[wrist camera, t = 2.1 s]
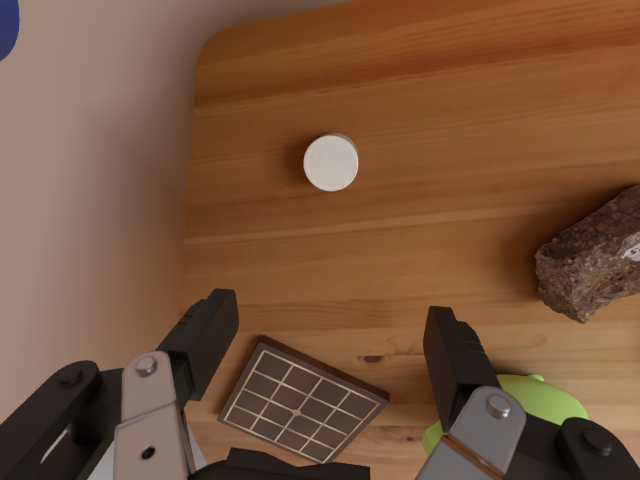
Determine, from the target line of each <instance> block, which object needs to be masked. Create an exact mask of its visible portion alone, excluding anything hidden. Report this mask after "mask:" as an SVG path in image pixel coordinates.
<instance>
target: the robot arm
mask: <svg viewBox="0 0 640 480" xmlns="http://www.w3.org/2000/svg"><path fill="white" fill-rule="evenodd" d="M238 326H239V316H238V309H237V302H236V295H235V291H234V290H231V289H218V288H216V289H214V290H213V291H212V293H211V294H210V295H209V297H208V298H207V299H206V300H205V299H201V300H200V301H198V302H197V303H195V304H194V305H192V306H191V307H190V308H189V309H188V311H187V312H186V313H185V314H184V317H182V318H181V319H180V320H179V322H178V324H176V325H175V327H174V328H173V329H172V330H171V331H170V333H169V334H168V335H167V336H166V337H165V339H164V340H163V341H162V342H161V344H160V345H159V346H158V348H157V349H156V350H155V351H149V352H146V353H143V354H141V355H139V356H137V357H135V358H134V359H133V360H131V361H130V362H129V363H128V364H127V365H126V367H125V368H119V369H112V370H106V371H99V368H98V366H97V364H96V363H95V362H93V361H87V360H86V361H79V362H75V363H72V364H69V365H67V366H65V367H63V368H61V369H60V370H58V371H57V372H55V373H54V374H53V375H52V376H51V377H50V378H48V379H47V380H46V381H45V383H43V384H42V385H41V386H40V387H39V388H38V389H37V390H36V391H35V392H34V393H33V394H32V395H31V396H30V397H29V398H28V399H27V400H26V401H25V402H24V403H23V404H21V405H20V407H18V408H17V409H16V410H15V411H14V412H13V413H12V414H11V415H10V416H9V417H8V418H7V419H6V420H5V421H4V422H3V423H2V424H1V425H0V480H87V479H88V477H89V476H90V475H91V473H92V472H93V470H94V469H95V467H96V466H97V464H98V463H99V461H100V460H101V458H102V457H103V455H104V454H105V452H106V451H107V449H108V448H109V446H110V444H111V443H112V441H113V440H114V465H113V480H370V467H367V466H360V465H353V464H345V463H338V462H331V463H324V464H317V465H310V466H303V467H295V466H293V465H291V464H289V463H286V462H284V461H282V460H280V459H278V458H276V457H274V456H271V455H269V454H267V453H265V452H260V451H253V450H246V449H239V448H232V447H231V449H230V452H229V455H228V457H227V460H221V461H218V462H214V463H212V464H209V465H207V466H205V467H203V468H201V469H199V470H197V471H196V467H195V464H194V459H193V454H192V448H191V443H190V437H189V432H188V427H187V421H186V416H185V411H184V407H185V405H186V403H187V402H188V400H193V401H200V400H201V398H202V397H203V395H204V393H205V391H206V389H207V387H208V385H209V383H210V382H211V380H212V378H213V376H214V374H215V372H216V370H217V369H218V367H219V365H220V363H221V361H222V359H223V357H224V355H225V354H226V352H227V350H228V348H229V346H230V344H231V342H232V340H233V339H234V337H235V335H236V333H237V330H238ZM423 348H424V354H425V359H426V363H427V367H428V371H429V376H430V380H431V384H432V388H433V393H434V397H435V401H436V405H437V410H438V414H439V418H440V422H441V427H442V431H443V433H448V434H447V435H445V434H444V435H443V436H442V437H441V438H440V440H439V441H438V443H437V444H436V446H435V447H434V449H433V451H432V452H431V454H430V456H429V457H428V459H427V460H426V462H425V464H424V465H423V467H422V468H421V470H420V472H419V473H418V475H417V476H416V478H415V480H640V468H639V467H638V465H637V464H636V462H635V461H634V459H633V458H632V457H631V455H630V454H629V452H628V451H627V449H626V448H625V446H624V445H623V444H622V443H621V442H620V440H619V439H618V438H617V437H615V436H614V435H613V434H612V433H611V432H609V431H608V430H607V429H605V428H604V427H602V426H600V425H599V424H597V423H595V422H593V421H590V420H587V419H584V418H580V417H570V418H567V419H565V420H564V421H563V423H562V425H558V424H555V423H552V422H550V421H547V420H544V419H542V418H539V417H536V416H534V415H532V414H529V413H528V412H526V411H524V408H523V407H522V405H521V404H520V403H519V402H518V400H517V399H516V398H514V397H513V396H512V395H511V394H509V393H508V392H506V391H504V390H503V389H502V387H501V385H500V383H499V381H498V378H497V376H496V374H495V372H494V370H493V368H492V366H491V364H490V362H489V359H488V357H487V355H486V354H485V351H484V349H483V347H482V345H481V343H480V340H479V338H478V336H477V334H476V332H475V331H474V330H473V329H472V328H471V327H470V326H469V325H468V324H467V323H466V322H460V321H457V320H456V318H455V315H454V313H453V311H452V309H451V308H450V307H439V306H430V308H429V311H428V316H427V321H426V326H425V332H424V337H423ZM65 429H66V431H67V433H66V434H65V435H64V437H63V438H62V439H61V440H60V441H59V443H58V444H57V445H56V446H55V447H54V449H53V450H52V451H51V452H50V453H49V455H48V456H47V457H46V458H45V460H44V461H43V462H42V463H41V460H42V458H43V456H44V455H45V453H46V452H47V450H48V449H49V448H50V447H51V446H52V444H53V443H54V442H55V441H56V440H57V438H58V437H59V436H60V435H61V434H62V432H63V431H64V430H65Z"/></svg>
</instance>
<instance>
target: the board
mask: <svg viewBox="0 0 640 480" xmlns="http://www.w3.org/2000/svg"><path fill="white" fill-rule="evenodd" d="M389 402H390V398H389V393H387V392H385V391H382V390H380V389H378V388H376V387H374V386H372V385H370V384H367V383H365V382H363V381H361V380H359V379H357V378H354V377H352V376H350V375H348V374H346V373H344V372H342V371H339V370H337V369H335V368H333V367H331V366H329V365H327V364H324V363H322V362H320V361H318V360H316V359H314V358H312V357H309V356H307V355H305V354H303V353H301V352H299V351H296V350H294V349H292V348H290V347H288V346H286V345H284V344H281V343H279V342H277V341H275V340H273V339H271V338H269V337H266V336H264V335H262V337H261V338H260V340H259V342H258V344H257V346H256V348H255V349H254V351H253V353H252V355H251V357H250V359H249V360H248V362H247V364H246V366H245V368H244V370H243V371H242V373H241V375H240V377H239V379H238V381H237V382H236V384H235V386H234V388H233V390H232V392H231V393H230V395H229V397H228V399H227V401H226V403H225V404H224V406H223V408H222V410H221V412H220V414H219V416H218V418H217V421H219V422H221V423H223V424H226V425H228V426H230V427H233V428H235V429H237V430H240V431H242V432H244V433H247V434H249V435H251V436H254V437H256V438H258V439H260V440H263V441H265V442H267V443H270V444H272V445H274V446H277V447H279V448H281V449H284V450H286V451H288V452H290V453H293V454H295V455H297V456H300V457H302V458H304V459H307V460H309V461H311V462H314V463H316V464H324V463H331V462H332V461H333V460H334V459H335V458H336V457H337V456H338V455H339V454H340V453H341V452H342V451H343V450H344V449H345V448H346V447H347V446H348V445H349V443H350V442H351V441H352V440H353V439H354V438H355V437H356V436H357V435H358V434H359V433H360V432H361V431H362V430H363V429H364V428H365V427H366V426H367V425H368V424H369V423H370V422H371V421H372V420H373V419H374V418H375V417H376V416H377V415H378V414H379V413H380V411H381V410H382V409H383V408H384V407H385V406H386V405H387V404H388V403H389Z"/></svg>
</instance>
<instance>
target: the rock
mask: <svg viewBox="0 0 640 480" xmlns="http://www.w3.org/2000/svg"><path fill="white" fill-rule="evenodd" d="M535 258H536V269H535V272H536V274H537V275H538V279H539V280H540V281H539V282H538V286H539V288H538V295H539V297H540V298H541V299H542V300H543V302H544V304H545V305H547V306H549V307H550V308H551V309H552V310H553V311H555V312H557V313H562V314H565V315H566V316H567V317H569V318H570V319H572V320H575V321H577V322H578V323H581V324H585V323H586V322H587V321H589V320H590V319H591V317H592V316H593V315H594V313H595V310H597V309H600V308H602V307H604V306H606V305H608V304H609V303H610V302H612V301H613V300H616V299H618V298H621V297H626V296H631V295H635V294H637V293H640V184H639V185H635V186H633V187H631V188H628V189H626V190H624V191H622V192H621V193H620V194H619V195H618V196H617V197H616V198H615V199H613V200H611V201H610V202H608V203H606V204H605V205H604V206H603V207H601V208H600V209H599V210H598V211H597V212H594V213H592V214H590V215H588V216H587V217H585V218H584V219H583V220H582V221H580V222H577V223H575V224H574V225H573V226H571V227H569V228H567V229H566V230H562V231H561V233H560V235H559V237H556V238H553V239H552V242H551V243H549V244H544V245H543V246H542V247H541V248H539V249H538V250H537V253H536V255H535Z"/></svg>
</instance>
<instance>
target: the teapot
mask: <svg viewBox="0 0 640 480" xmlns="http://www.w3.org/2000/svg"><path fill="white" fill-rule="evenodd" d="M496 376H497V378H498V381H499V383H500V385H501V387H502V389H503V390H504V391H506V392H508V393H509V394H511V395H512V396H513V397H514V398H516V399H517V400H518V402H519V403H520V404H521V405H522V407H523V408H524V411H526V412H528V413H529V414H532V415H534V416H536V417H539V418H542V419H544V420H547V421H550V422H552V423H555V424H558V425H562V423H563V421H564V420H565V419H567V418H570V417H580V418H584V419H587V420H590V419H589V417H588V415H587V413H586V411H585V410H584V408H583V407H582V405H581V404H580V403H579V401H578V400H577V399H576V398H574V397H573V396H572V395H570V394H569V393H567V392H566V391H564V390H562V389H560V388H558V387H556V386H554V385H552V384H549V383H546V382H544V379H543V378H542V377H541V376H539V375H535V374H532V375H527V376H519V375H496ZM444 434H445V435H447V434H448V433H443V431H442V427H441V422H440V420H439V421H437V422H436V423H435V424H433V425H432V426H430V427H429V428H428V429H426V430H425V432H424V436H423V439H422V444H423V446H424V448H425V451H426V453H427V456H428V457H429V456H430V454H431V452H432V451H433V449H434V447H435V446H436V444H437V443H438V441H439V440H440V438H441V437H442V436H443V435H444Z"/></svg>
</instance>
